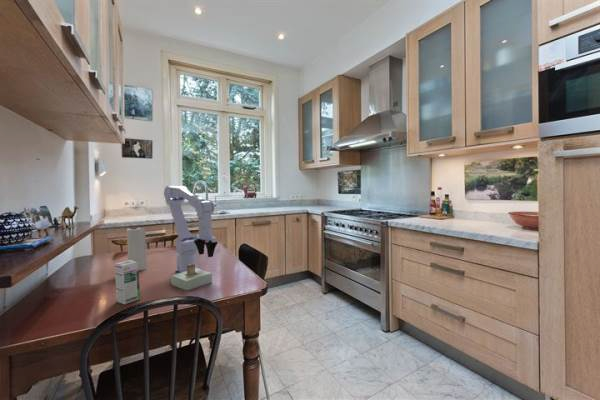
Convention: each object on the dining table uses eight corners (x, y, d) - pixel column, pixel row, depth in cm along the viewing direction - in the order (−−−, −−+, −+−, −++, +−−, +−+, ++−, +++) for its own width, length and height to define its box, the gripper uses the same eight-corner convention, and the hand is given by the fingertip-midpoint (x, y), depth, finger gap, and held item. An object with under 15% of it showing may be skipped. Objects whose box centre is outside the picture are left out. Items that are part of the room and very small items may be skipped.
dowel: (186, 283, 119) (185, 265, 119) (193, 281, 121) (192, 263, 121) (189, 285, 117) (188, 266, 116) (196, 283, 119) (196, 265, 119)
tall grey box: (125, 271, 137) (123, 229, 136) (135, 267, 143) (133, 227, 142) (137, 272, 136) (135, 229, 134) (147, 268, 141) (145, 227, 140)
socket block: (171, 284, 118) (171, 275, 118) (196, 276, 128) (196, 268, 127) (186, 290, 111) (186, 280, 111) (212, 282, 120) (211, 273, 120)
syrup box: (124, 305, 98) (122, 265, 97) (116, 301, 101) (114, 262, 100) (140, 299, 103) (138, 261, 102) (132, 296, 106) (130, 259, 105)
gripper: (188, 226, 128) (189, 254, 129) (206, 229, 119) (207, 259, 120) (202, 224, 134) (203, 251, 135) (220, 227, 125) (220, 256, 126)
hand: (205, 255), depth 128 cm, fingers open, 7 cm apart
